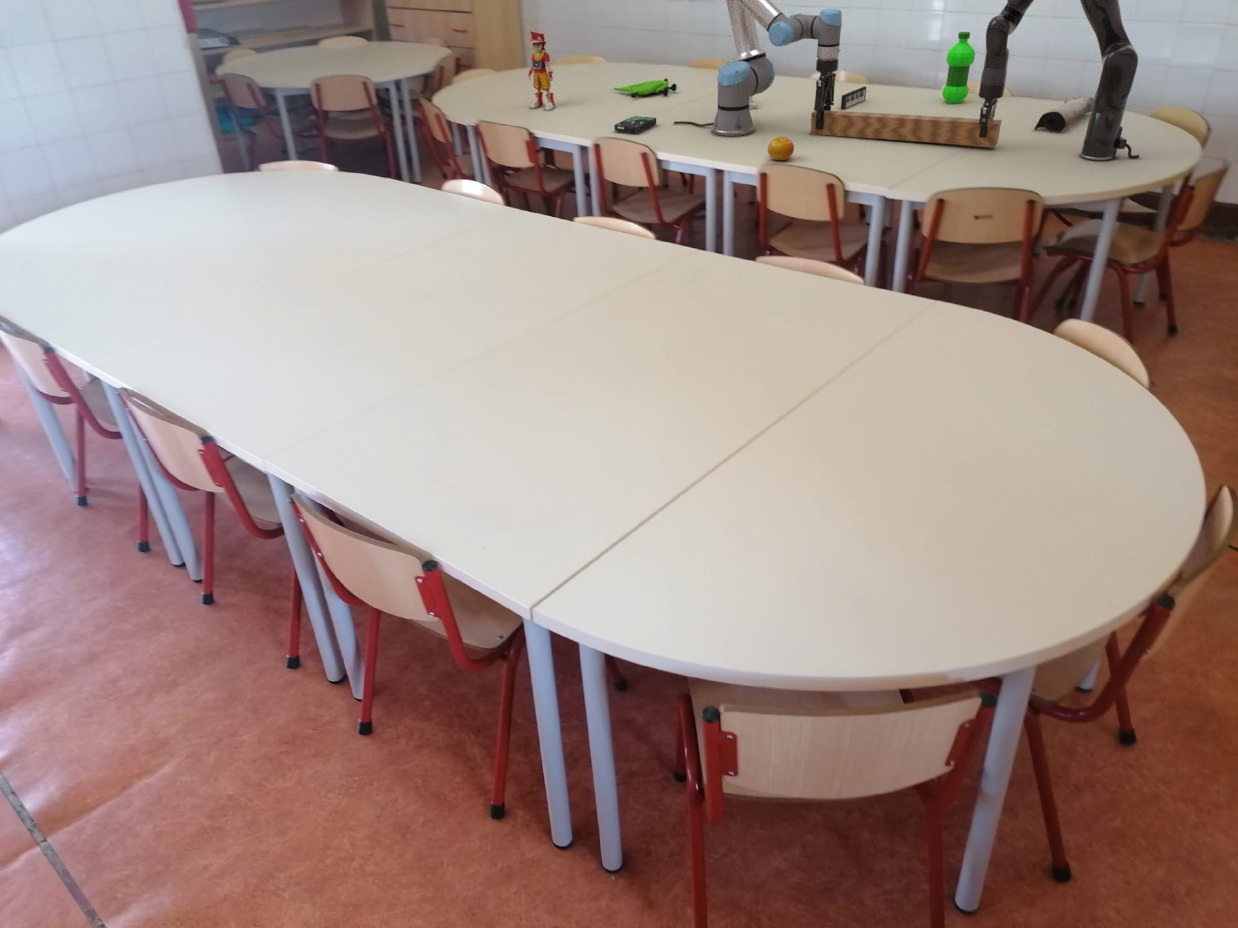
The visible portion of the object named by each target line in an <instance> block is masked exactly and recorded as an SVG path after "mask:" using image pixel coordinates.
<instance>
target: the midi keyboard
mask: <svg viewBox="0 0 1238 928" xmlns="http://www.w3.org/2000/svg"><path fill="white" fill-rule="evenodd" d="M866 94H867V86H861V87H860V88H857V89H855V90H852V91H849V92H847V93H844V94H842V95H841V100H840V110H845V109H847V108H849V107H851V106H853V105H856V104H857V103H860V102H862V101H865V100H866V96H867V95H866Z"/></svg>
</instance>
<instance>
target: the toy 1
mask: <svg viewBox="0 0 1238 928" xmlns="http://www.w3.org/2000/svg"><path fill="white" fill-rule="evenodd" d="M529 33H530V35H531V36H528V37H527V38H528V39H529V40H528V41H527V43H529V44H530V43H531V44H532V48H533V50H534V51H533V52H532V55H531V58H530V59H531V63H530V66H528V74H527V75H528V76H527V77H528V79H529V80H531V75H532V74H533V84H532V85H533V86H532V87H533V88H534V89H535V90H536V92H534V95H535V97H536V100H535V101H533V102H531V105H530V108H531V109H535V108H538V107H542V106H544V101H543V100H544V99H543V95H544V92H546V94H545V97H546V99H547V103H546V104H545V106H544V110H546V111H549V110H553V109H554V107H555V106H556V105H555V99H554V92H551V91H550V90H551V86H552V84H551V82H552V81H553V80H554V77H553V73H554V71H555V70H554V69H552V68H551V63H550V61H551V59H550V58H551V57H550V54H549V53H548V52H547V50H546V48H545V46H546V44H547V41H545V35H544V33H543V32H542V33H539V32H535V31H529Z"/></svg>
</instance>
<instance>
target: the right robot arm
mask: <svg viewBox="0 0 1238 928" xmlns="http://www.w3.org/2000/svg"><path fill="white" fill-rule="evenodd" d="M1034 1H1035V0H1007V3H1006V4H1005V6H1004V7H1003V9H1002V10H1001V11H1000V13H999V14H997V15H996V16H994V17H992V18H991V19H990V20H989V22H988V24H987V27H986V32H985V52H986V53H985V57H984V63H983V69H982V72H981V76H980V84H979V91H978V97H979V98H980V99H984V101H983V103H982V104H981V108H980V114H979V119H980V121H979V125H980V126H981V127H980V133H979V137H980V138H985V137H986V135H987V129H988V125H989V120H990V119H992V120H994V118H995V114H996V111H997V106H998V101H999V100H998V99H1001V98H1002V97H1003V96H1004V92H1005V88H1006V80H1007V74H1008V72H1007V71H1008V63H1009V58H1010V57H1009V56H1010V49H1009V47H1008V39H1009V37H1010V35H1012V34H1013V33H1014V31H1016V29H1017V28H1018V26H1019V24H1020V23H1021V22H1022V20H1023V18H1024V16H1025V14H1026V12H1027V10H1028V9H1029V8H1030V6H1031V5H1032V4H1033V3H1034ZM1079 1H1080V4H1081V8H1082V10H1083V12H1084V15H1085V16H1086V19H1087V21H1088V23H1089V25H1090V27H1091V29H1092V31H1093V32H1094V34H1095V36H1096V40H1097V43H1098V47H1099V50H1100V58H1101V64H1102V70H1101V73H1100V78H1099V83H1098V85H1097V89H1096V91H1095V94H1094V97H1093V99H1094V102H1093V106H1092V111H1091V112H1090V114H1089V115H1090V116H1089V120H1088V123H1087V129H1086V131H1085V136H1084V139H1083V140H1082V141H1083V143H1082V148H1081V152H1080V157H1081V158H1083V159H1086V160H1090V161H1109V160H1112V159H1115V158H1116V156H1117V152H1118V150H1125V149H1126V148H1127V156H1128V158H1129V159H1139V158H1140V154H1135V155H1132V147H1131V146H1130V145H1129V144H1128V143H1127V141H1128V140H1127V139H1126V138H1125V137H1122V133H1123V129H1124V128H1123V126H1121V125H1122V121H1123V117H1124V114H1125V111H1126V106H1127V103H1128V98H1129V95H1130V94H1131V91H1132V87H1133V84H1134V80H1135V77H1136V73H1137V69H1138V65H1139V56H1138V54H1137V51H1136V49H1135V47H1134V46H1133V44H1132V42H1131V40H1130V38H1129V36H1128V35H1127V31H1126V29H1125V26H1124V24H1123V21H1122V13H1121V5H1120V2H1119V0H1079ZM983 119H986V122H984V121H983Z"/></svg>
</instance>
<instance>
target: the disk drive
mask: <svg viewBox="0 0 1238 928" xmlns="http://www.w3.org/2000/svg"><path fill="white" fill-rule="evenodd" d="M656 125H657V117H652V116H651V117H650V116H637V115H633V116H630V117H628V118H626V119H624V120H621V121H619V122H618V123H615V124H614V132H617V133H618V132H619V133H626V134H635V135H637V134H639V133H642V132H644V131H646V130H647V129H651V128H653V127H654V126H656Z"/></svg>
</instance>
